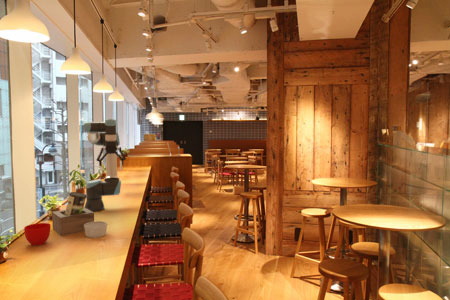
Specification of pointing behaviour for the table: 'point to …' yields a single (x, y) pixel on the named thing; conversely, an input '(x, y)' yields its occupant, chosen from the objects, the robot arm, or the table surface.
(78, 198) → the coffee can
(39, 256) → the table surface
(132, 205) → the table surface
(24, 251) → the table surface
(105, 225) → the ramekin
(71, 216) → the brown square bin
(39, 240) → the ceramic cup
